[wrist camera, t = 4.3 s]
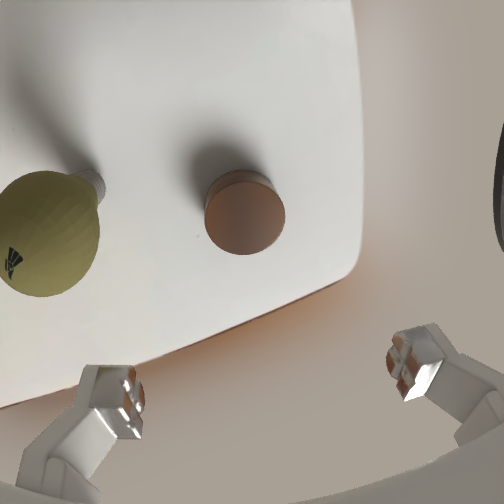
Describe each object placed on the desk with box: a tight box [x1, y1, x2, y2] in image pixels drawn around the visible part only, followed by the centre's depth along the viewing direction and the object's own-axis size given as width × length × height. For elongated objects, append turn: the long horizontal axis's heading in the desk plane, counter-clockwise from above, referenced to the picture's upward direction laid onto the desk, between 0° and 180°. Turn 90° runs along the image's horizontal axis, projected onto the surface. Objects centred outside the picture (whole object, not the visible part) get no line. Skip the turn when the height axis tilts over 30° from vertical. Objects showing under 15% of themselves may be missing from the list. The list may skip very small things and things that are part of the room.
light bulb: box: [0, 169, 106, 297], centre depth 14 cm, size 6×6×10 cm
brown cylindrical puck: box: [204, 170, 285, 255], centre depth 19 cm, size 5×5×2 cm
